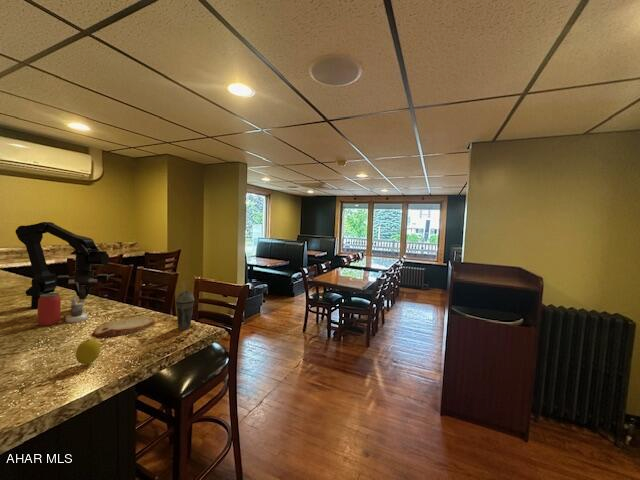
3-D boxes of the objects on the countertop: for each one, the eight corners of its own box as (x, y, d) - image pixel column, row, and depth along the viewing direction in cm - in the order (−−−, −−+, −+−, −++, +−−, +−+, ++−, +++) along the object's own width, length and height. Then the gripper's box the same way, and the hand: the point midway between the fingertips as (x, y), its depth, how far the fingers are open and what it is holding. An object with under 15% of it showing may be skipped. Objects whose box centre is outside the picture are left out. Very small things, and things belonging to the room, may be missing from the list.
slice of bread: (157, 320, 121) (158, 312, 121) (142, 336, 104) (142, 327, 104) (111, 322, 117) (111, 313, 116) (87, 339, 99) (87, 329, 99)
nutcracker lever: (81, 315, 115) (82, 295, 115) (69, 316, 113) (69, 296, 112) (88, 302, 133) (88, 284, 132) (77, 303, 130) (77, 285, 130)
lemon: (85, 360, 84) (85, 335, 84) (104, 360, 84) (104, 335, 84) (70, 369, 78) (70, 343, 78) (90, 370, 79) (91, 343, 79)
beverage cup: (197, 326, 116) (199, 281, 115) (182, 332, 109) (184, 283, 108) (185, 323, 119) (187, 278, 118) (170, 328, 112) (172, 281, 111)
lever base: (71, 317, 118) (71, 313, 118) (90, 317, 120) (90, 312, 120) (61, 323, 111) (61, 318, 111) (81, 322, 113) (81, 317, 113)
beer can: (64, 321, 113) (65, 293, 113) (47, 327, 107) (47, 297, 106) (50, 320, 114) (51, 292, 113) (32, 325, 107) (33, 295, 107)
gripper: (52, 267, 117) (52, 302, 118) (107, 266, 128) (106, 298, 129) (57, 263, 126) (57, 296, 127) (108, 262, 137) (107, 292, 138)
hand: (82, 296), depth 130 cm, fingers closed on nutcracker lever, 3 cm apart
